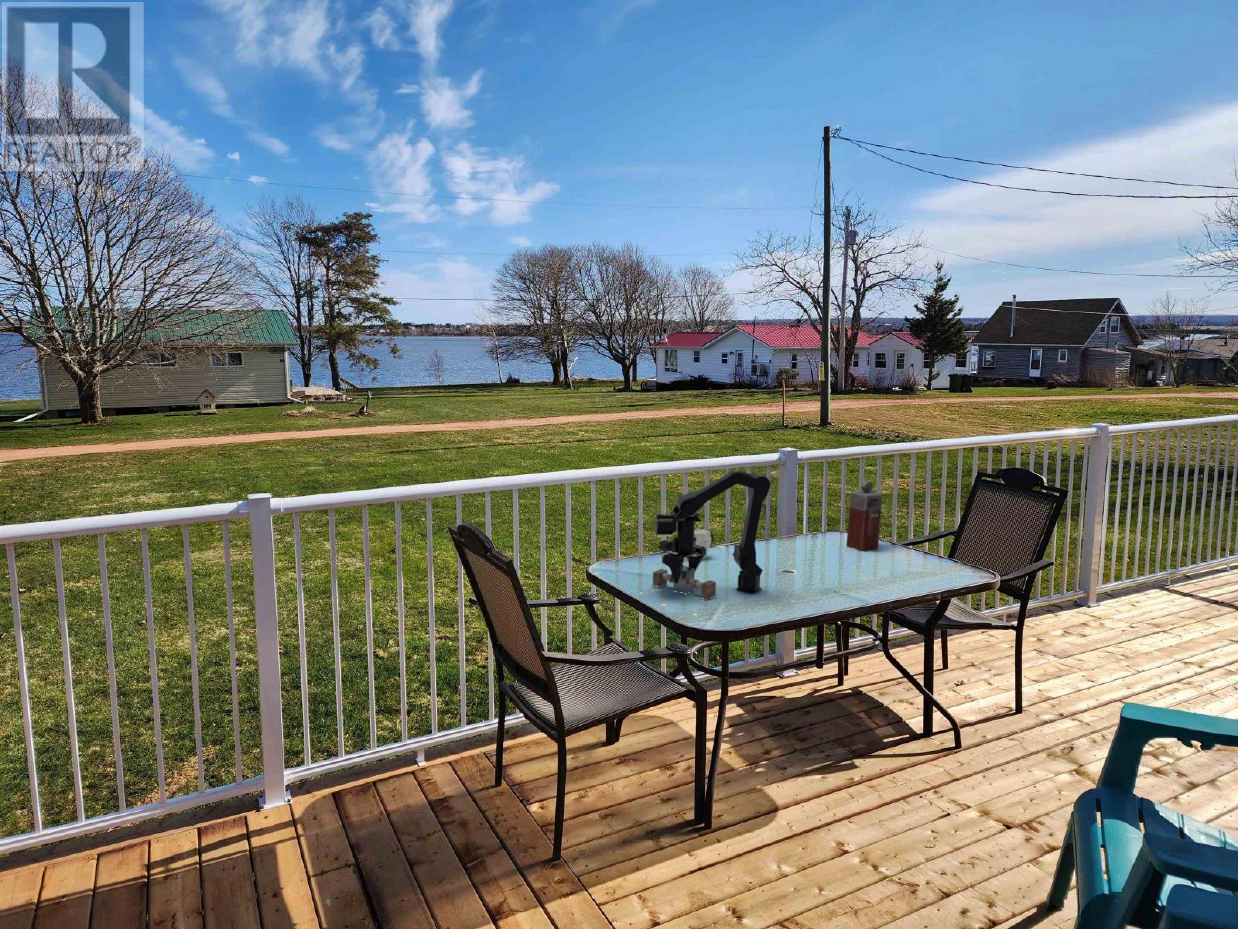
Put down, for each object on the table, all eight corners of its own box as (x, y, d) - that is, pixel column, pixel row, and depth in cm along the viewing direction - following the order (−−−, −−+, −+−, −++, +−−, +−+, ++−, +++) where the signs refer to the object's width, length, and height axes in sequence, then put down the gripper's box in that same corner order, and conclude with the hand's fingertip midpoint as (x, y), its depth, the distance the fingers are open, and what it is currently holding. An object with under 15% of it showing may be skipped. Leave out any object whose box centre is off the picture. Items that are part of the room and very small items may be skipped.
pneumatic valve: (681, 559, 294) (683, 529, 292) (705, 555, 300) (707, 525, 298) (690, 563, 289) (692, 532, 287) (714, 559, 295) (716, 528, 293)
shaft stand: (715, 596, 252) (716, 581, 251) (707, 600, 248) (708, 585, 247) (660, 582, 265) (661, 568, 264) (652, 586, 261) (653, 572, 260)
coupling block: (695, 591, 257) (696, 568, 256) (687, 595, 253) (688, 571, 252) (679, 587, 260) (680, 564, 259) (671, 591, 256) (672, 568, 255)
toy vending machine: (866, 553, 310) (871, 484, 305) (846, 546, 319) (851, 480, 315) (882, 551, 314) (888, 483, 309) (862, 544, 323) (867, 478, 319)
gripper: (680, 525, 266) (678, 568, 268) (649, 535, 251) (647, 581, 253) (708, 530, 259) (706, 575, 261) (678, 541, 244) (676, 588, 247)
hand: (683, 579), depth 256 cm, fingers open, 9 cm apart
